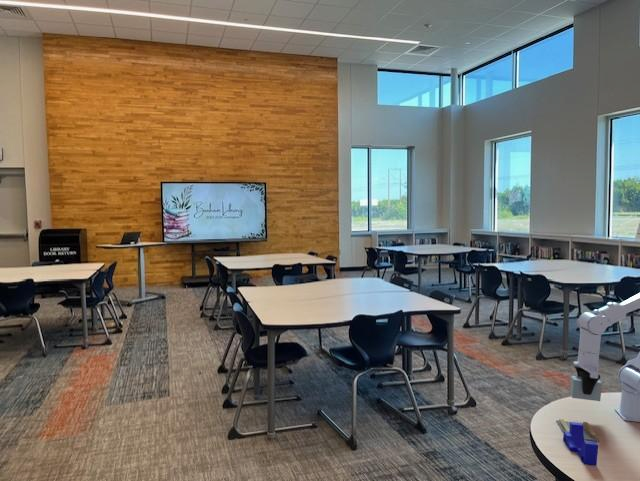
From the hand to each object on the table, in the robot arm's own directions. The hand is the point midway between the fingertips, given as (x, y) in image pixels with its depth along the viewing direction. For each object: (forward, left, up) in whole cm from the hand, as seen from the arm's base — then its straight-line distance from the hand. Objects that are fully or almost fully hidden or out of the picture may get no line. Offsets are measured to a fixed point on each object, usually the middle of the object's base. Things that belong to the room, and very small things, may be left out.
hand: (585, 391), depth 151 cm
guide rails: (+5, +11, -8) cm, 15 cm away
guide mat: (+5, +11, -8) cm, 15 cm away
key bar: (0, 0, -2) cm, 2 cm away
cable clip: (+8, +23, -9) cm, 26 cm away
